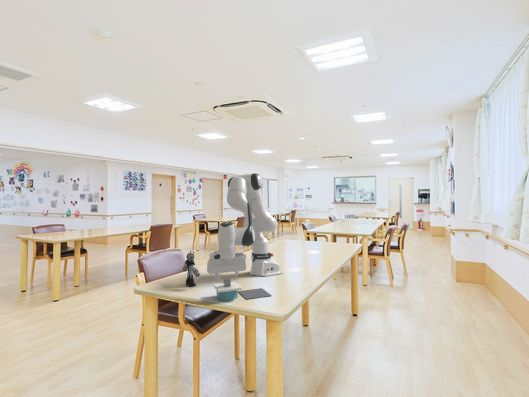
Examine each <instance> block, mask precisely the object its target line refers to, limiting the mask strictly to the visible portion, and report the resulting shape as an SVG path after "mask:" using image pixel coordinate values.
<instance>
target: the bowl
mask: <svg viewBox="0 0 529 397" xmlns="http://www.w3.org/2000/svg"><path fill="white" fill-rule="evenodd" d="M238 291H239V290H235V291H227V292H219V293H218V291H217V290H216V298H217V300H218V301H222V302H223V301H224V302H229V301H230V302H231V301H235V300H236V299H237V298H238V293H239V292H238Z"/></svg>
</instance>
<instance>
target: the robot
mask: <svg viewBox="0 0 529 397" xmlns="http://www.w3.org/2000/svg"><path fill="white" fill-rule="evenodd" d="M189 251H190V252H188V253H187V255H186V256H185V257H186V260H185V261H184V265H183V266H182V271H183V272H187V273H186V274H187V275H186V276H187V277H186V279H185V286H188V287H189V288H194V287H197V284H196V283H195V279H194V276H195V277H196V278H197V277H200V275H201V273H200V271H199V270H198V268H196V267H195V266H196V262H195V251H192V250H189Z"/></svg>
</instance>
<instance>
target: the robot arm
mask: <svg viewBox="0 0 529 397" xmlns="http://www.w3.org/2000/svg"><path fill="white" fill-rule="evenodd" d="M262 185H263V180H262V176H261V175H260V174H259V173H245V174H241V175H237V176H232V177H230V178H229V179H228V180H227V188H228V189H227V192H226V193H227V195H226V202H227V204H228V206H229V207H231V208H232V209H233V210H235V211H238V212H241V213H242V214H244V220H243V227H240V226H239V227H235V223H234V222H232V221H224V222H221V223H220V224H219V225H218V234H217V236H218V237H217V239H218V247H217V250H216V251H213V252H210V253H209V254H208V257H209V259H207V262H206V263H207V265H206V271H207V273H208V275H213V274H214V275H215V276H216V278H217V282H218V283H221V282H222V278H221V277H219V275H220V274H224V273H234V275H233V276H232V280H233V281H237V277H238V275H239V272H244V271H246V270H247V255H246V254H245V253H244V252H238V253H237V252H236V246H243V247H250V246H252V247H251V248H252V251H251V266H250V267H251V268H250V272H249V274H250V275H251V276H257V277H269V276H270V277H271V276H272V277H273V276H276V275H282V274H284V271H283V270H282V269H280V268H281V267H280V264H279V262H277V261H276V260H275V259H273V258H272V257H274V256H275V255H274V253H272V252H269V241H268V239H267V238H266V237H265V236H264V234H263V233H267V234H269V233H274V232H275V231H276V230H277V229H278V221H277V219H276V218H275V217H273V216H272V215H271V214H270V212H269V211H268V210H267V208H266V206H265V202H264V199H263V195H262V192H261V189H262Z"/></svg>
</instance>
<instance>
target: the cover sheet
mask: <svg viewBox="0 0 529 397" xmlns="http://www.w3.org/2000/svg"><path fill="white" fill-rule="evenodd" d="M212 287H213V288H214V289H215V290H216V292H217V291H218V293H219V292H227V291H235V290H238V291H243V288H242V286H240V284H238V283H237V281H232V280H231V278H229V277H227V278H226V277H225V278H223V282H222V283H221V282H218V283H213V284H212Z"/></svg>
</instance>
